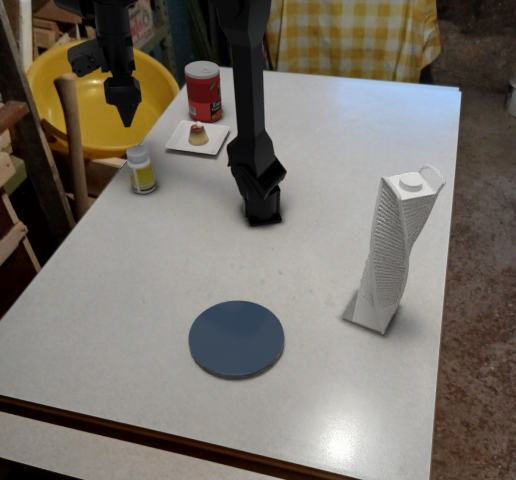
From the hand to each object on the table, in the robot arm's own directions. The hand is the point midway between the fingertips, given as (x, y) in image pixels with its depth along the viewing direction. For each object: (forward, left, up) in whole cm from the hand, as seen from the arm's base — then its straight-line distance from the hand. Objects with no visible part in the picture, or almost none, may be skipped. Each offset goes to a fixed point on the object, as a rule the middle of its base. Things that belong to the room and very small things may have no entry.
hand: (125, 113), depth 99 cm
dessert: (-14, -8, -12) cm, 21 cm away
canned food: (-18, -19, -13) cm, 29 cm away
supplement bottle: (-1, +7, -13) cm, 14 cm away
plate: (-12, +51, -12) cm, 54 cm away
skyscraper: (-35, +51, -13) cm, 63 cm away
